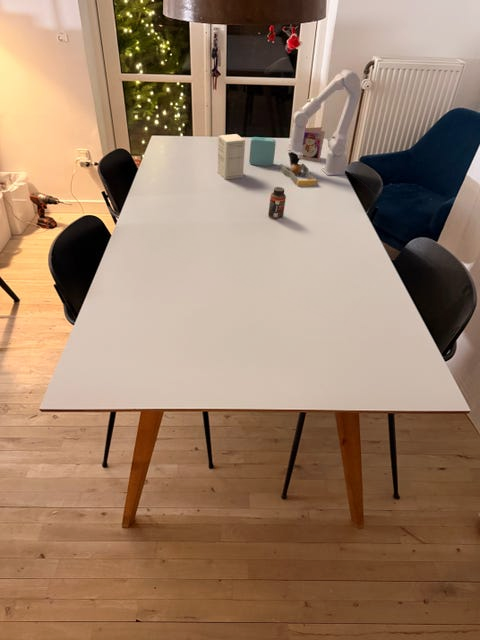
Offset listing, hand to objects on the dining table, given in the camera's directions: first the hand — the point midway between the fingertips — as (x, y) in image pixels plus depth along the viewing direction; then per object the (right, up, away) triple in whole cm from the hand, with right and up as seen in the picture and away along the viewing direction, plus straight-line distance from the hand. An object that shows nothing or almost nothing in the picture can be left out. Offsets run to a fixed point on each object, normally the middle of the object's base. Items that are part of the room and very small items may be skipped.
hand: (293, 168), depth 211 cm
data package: (-15, +4, +6) cm, 17 cm away
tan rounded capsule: (+1, -3, -2) cm, 4 cm away
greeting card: (+10, +11, +17) cm, 22 cm away
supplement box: (-30, -6, -8) cm, 32 cm away
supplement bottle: (-12, -33, -39) cm, 52 cm away
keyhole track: (+2, -6, -5) cm, 8 cm away
